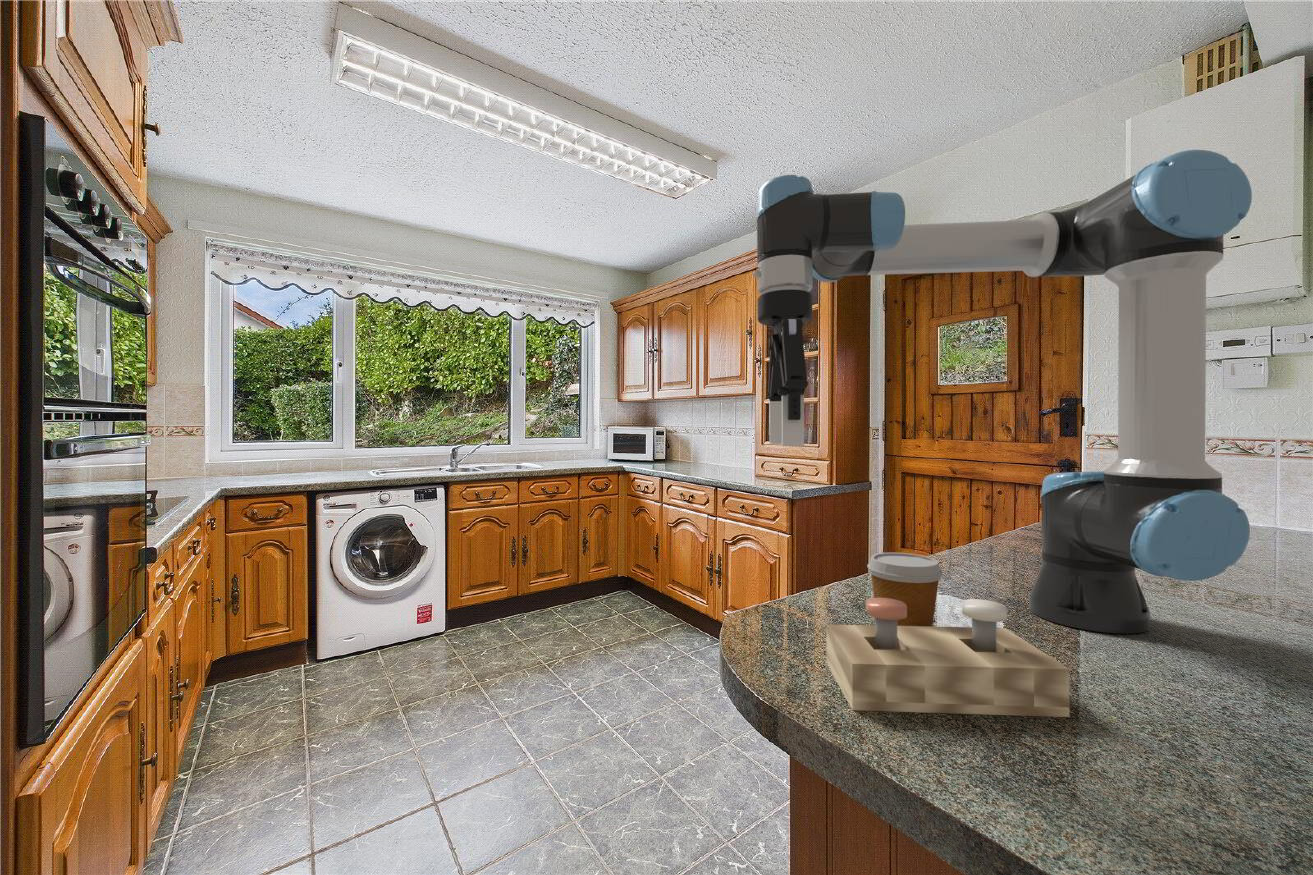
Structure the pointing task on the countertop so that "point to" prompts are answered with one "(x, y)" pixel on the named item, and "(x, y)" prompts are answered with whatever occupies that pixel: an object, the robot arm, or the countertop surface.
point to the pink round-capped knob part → (886, 619)
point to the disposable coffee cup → (907, 584)
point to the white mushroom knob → (984, 621)
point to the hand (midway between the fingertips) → (785, 445)
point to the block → (945, 673)
